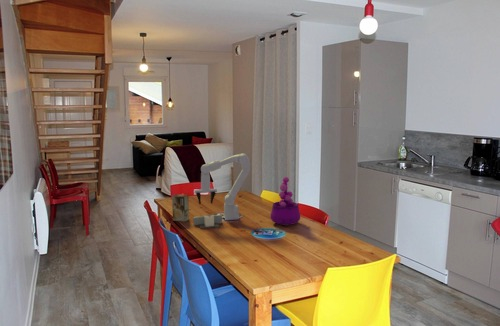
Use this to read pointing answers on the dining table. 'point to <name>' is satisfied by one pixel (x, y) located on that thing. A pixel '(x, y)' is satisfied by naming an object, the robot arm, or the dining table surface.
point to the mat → (209, 226)
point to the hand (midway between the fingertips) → (205, 203)
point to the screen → (201, 221)
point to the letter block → (209, 220)
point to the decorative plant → (285, 207)
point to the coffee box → (180, 207)
